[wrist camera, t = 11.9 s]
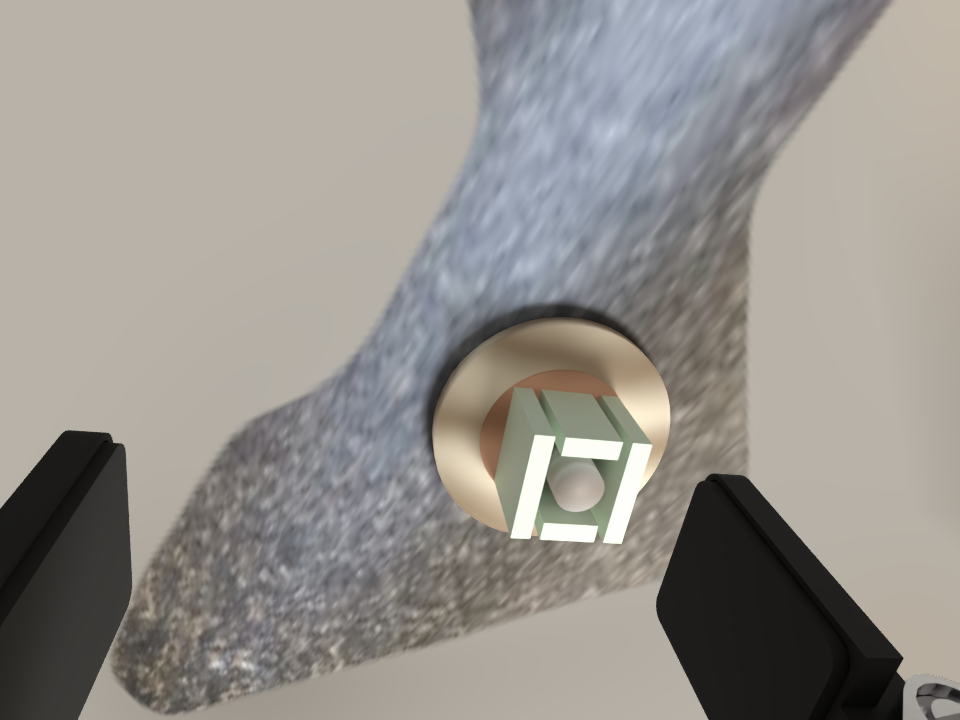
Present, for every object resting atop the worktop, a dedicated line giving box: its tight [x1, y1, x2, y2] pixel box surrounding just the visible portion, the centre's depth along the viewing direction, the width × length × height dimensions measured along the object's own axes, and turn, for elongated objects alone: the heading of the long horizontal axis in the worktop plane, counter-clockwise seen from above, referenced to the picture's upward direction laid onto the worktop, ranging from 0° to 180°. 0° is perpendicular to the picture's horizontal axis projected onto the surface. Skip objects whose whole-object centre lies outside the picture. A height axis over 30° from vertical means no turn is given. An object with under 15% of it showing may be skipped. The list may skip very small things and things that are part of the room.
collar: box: [494, 387, 653, 544], centre depth 42 cm, size 7×7×6 cm
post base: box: [432, 317, 670, 536], centre depth 42 cm, size 16×16×8 cm
